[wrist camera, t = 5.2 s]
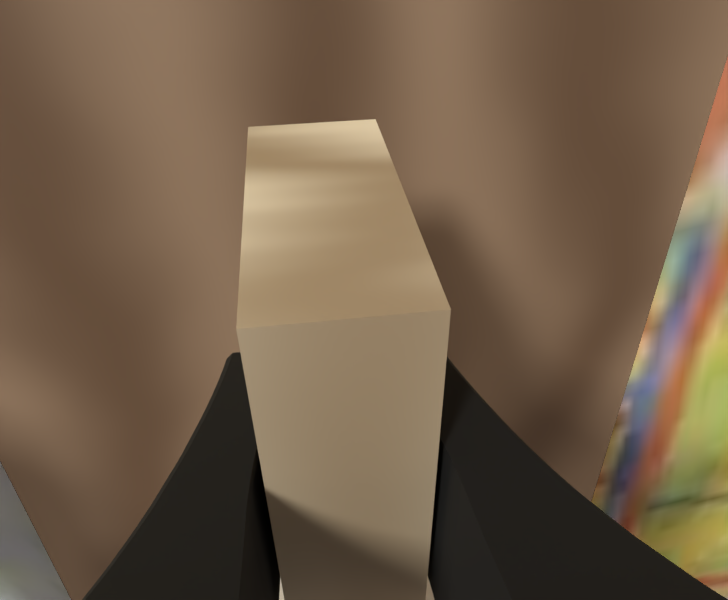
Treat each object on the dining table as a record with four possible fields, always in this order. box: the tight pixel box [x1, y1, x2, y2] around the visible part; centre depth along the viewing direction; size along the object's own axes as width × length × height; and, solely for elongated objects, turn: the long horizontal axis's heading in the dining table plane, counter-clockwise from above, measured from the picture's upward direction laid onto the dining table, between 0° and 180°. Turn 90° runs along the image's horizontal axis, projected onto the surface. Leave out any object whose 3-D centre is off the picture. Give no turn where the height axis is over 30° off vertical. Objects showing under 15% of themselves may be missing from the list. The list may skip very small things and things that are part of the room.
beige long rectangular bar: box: [236, 119, 451, 600], centre depth 11 cm, size 2×11×5 cm, turn 1°
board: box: [0, 0, 728, 600], centre depth 20 cm, size 20×28×1 cm
